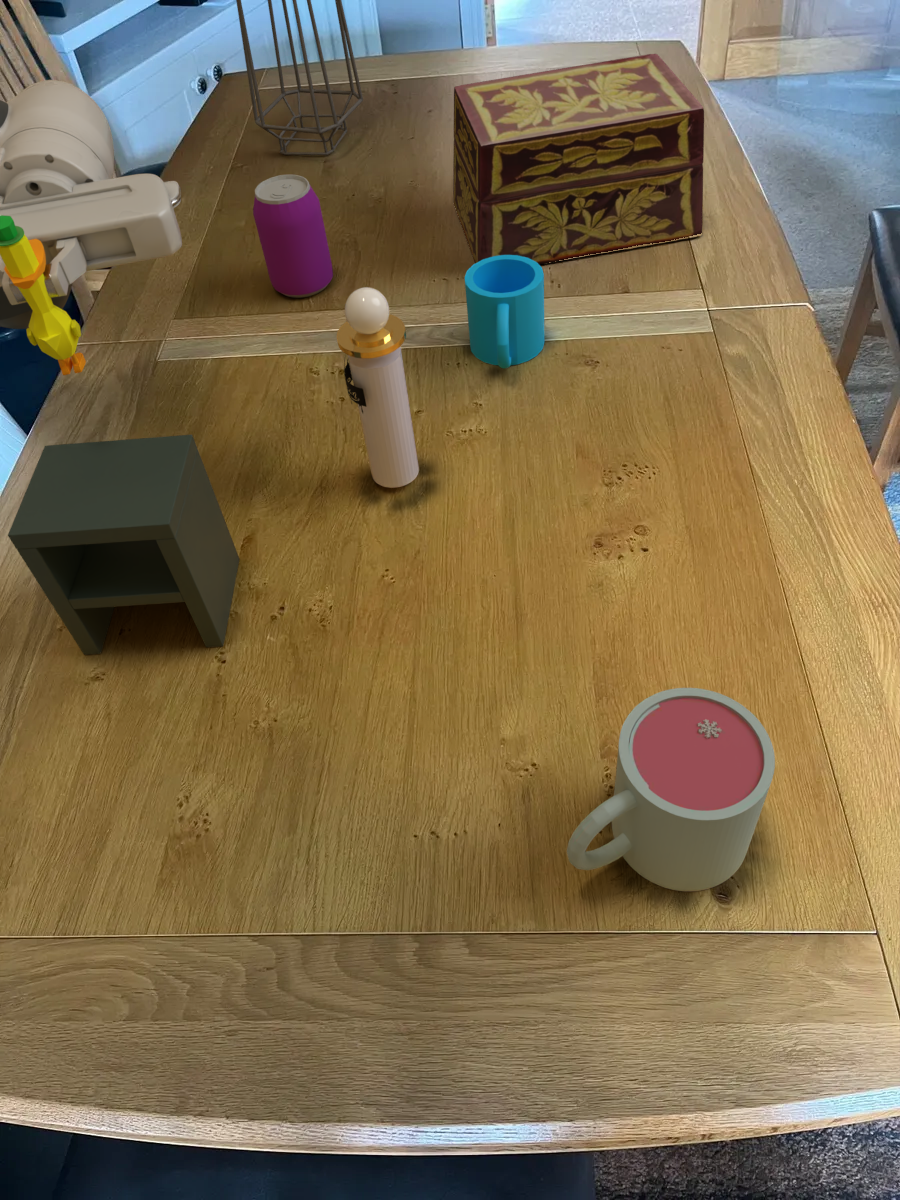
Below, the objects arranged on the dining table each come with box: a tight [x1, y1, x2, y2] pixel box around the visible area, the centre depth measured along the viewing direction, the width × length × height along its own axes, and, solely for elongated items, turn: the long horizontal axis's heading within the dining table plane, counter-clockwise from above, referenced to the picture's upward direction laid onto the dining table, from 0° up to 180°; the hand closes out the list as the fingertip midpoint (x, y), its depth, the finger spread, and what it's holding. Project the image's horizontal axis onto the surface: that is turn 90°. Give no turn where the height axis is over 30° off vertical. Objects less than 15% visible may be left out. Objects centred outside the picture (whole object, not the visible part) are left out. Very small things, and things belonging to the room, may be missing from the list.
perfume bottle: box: [336, 286, 420, 489], centre depth 82 cm, size 6×6×20 cm
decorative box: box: [452, 53, 705, 266], centre depth 113 cm, size 28×19×15 cm
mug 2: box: [566, 687, 776, 892], centre depth 60 cm, size 14×9×10 cm
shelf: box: [7, 434, 240, 656], centre depth 76 cm, size 12×10×14 cm
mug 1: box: [464, 255, 546, 369], centre depth 98 cm, size 12×8×8 cm
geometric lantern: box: [235, 0, 364, 156], centre depth 126 cm, size 16×16×35 cm
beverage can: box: [252, 174, 334, 299], centre depth 110 cm, size 8×8×12 cm
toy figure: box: [0, 215, 87, 376], centre depth 67 cm, size 7×4×12 cm, turn 11°
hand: (33, 291), depth 65 cm, fingers closed on toy figure
